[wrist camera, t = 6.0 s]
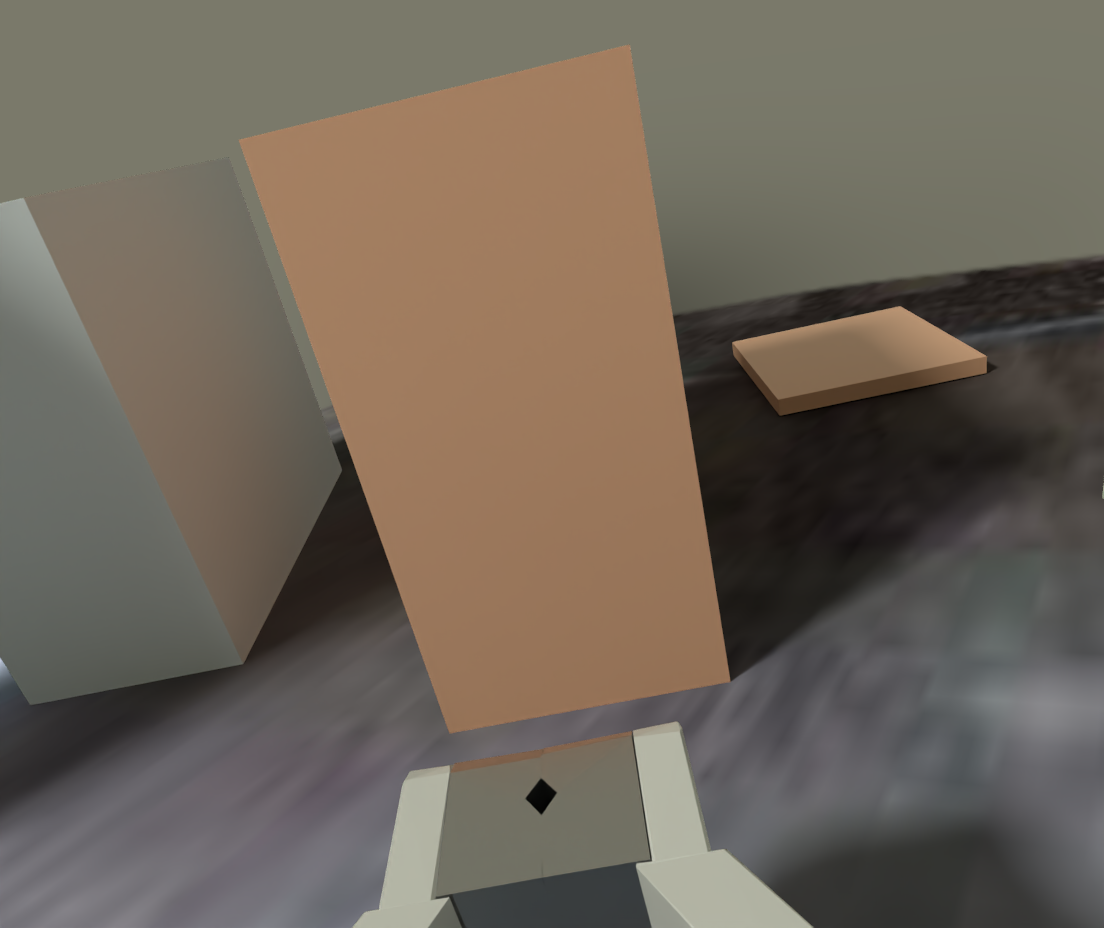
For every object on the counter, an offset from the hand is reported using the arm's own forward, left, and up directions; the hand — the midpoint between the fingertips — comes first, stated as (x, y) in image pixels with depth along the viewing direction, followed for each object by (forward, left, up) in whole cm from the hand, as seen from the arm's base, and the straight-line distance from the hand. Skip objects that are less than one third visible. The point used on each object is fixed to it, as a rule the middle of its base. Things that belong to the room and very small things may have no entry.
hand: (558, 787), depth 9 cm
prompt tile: (-11, -23, -5) cm, 26 cm away
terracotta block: (0, -13, -5) cm, 14 cm away
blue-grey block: (+12, -17, -5) cm, 21 cm away
